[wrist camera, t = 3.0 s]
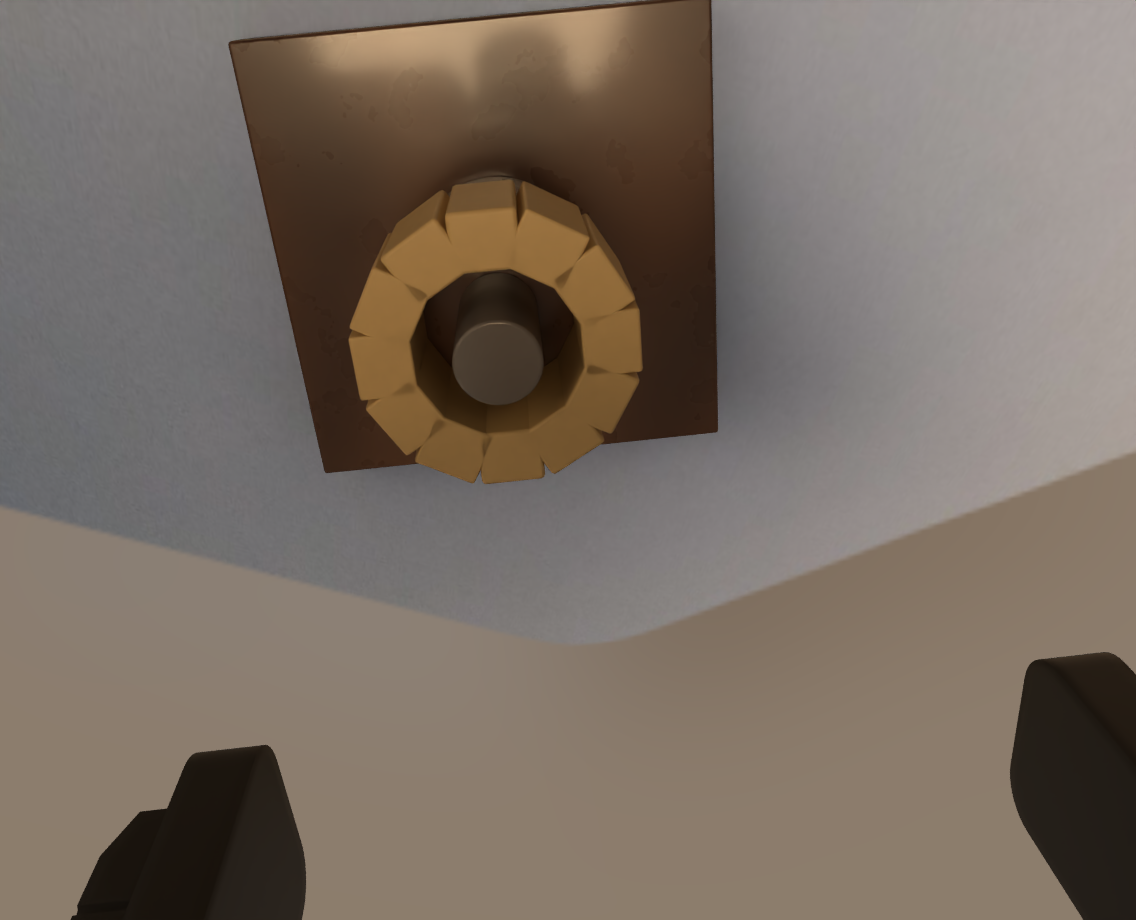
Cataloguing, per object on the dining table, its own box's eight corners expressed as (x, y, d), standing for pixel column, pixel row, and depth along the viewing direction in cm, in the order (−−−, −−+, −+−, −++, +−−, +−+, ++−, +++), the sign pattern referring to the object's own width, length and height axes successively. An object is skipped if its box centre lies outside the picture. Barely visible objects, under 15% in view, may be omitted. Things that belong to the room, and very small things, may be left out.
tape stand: (330, 456, 30) (262, 643, 21) (238, 39, 24) (96, 63, 16) (710, 417, 30) (794, 586, 21) (702, -5, 24) (810, -5, 16)
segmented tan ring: (393, 438, 23) (379, 496, 20) (348, 194, 20) (325, 225, 18) (631, 413, 23) (648, 468, 20) (616, 168, 20) (634, 194, 18)
